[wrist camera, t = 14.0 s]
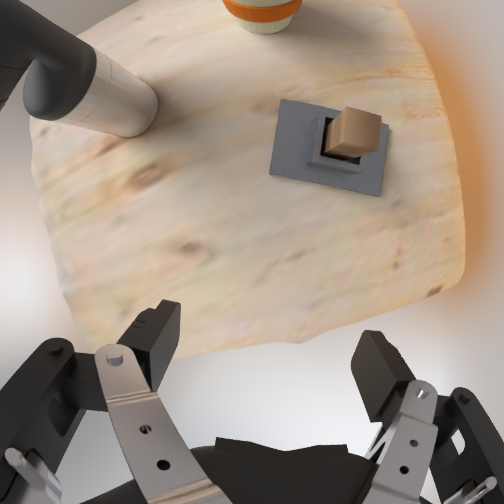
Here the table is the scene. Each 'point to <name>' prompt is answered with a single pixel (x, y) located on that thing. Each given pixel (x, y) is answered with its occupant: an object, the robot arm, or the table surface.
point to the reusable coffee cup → (263, 14)
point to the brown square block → (351, 135)
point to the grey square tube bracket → (309, 146)
